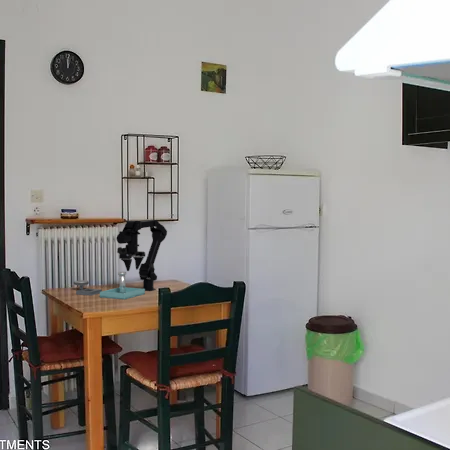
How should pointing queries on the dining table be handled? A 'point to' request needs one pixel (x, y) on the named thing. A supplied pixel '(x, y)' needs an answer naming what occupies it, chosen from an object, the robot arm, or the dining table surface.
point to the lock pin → (122, 282)
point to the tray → (117, 295)
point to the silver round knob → (81, 283)
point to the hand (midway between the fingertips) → (132, 270)
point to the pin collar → (88, 291)
